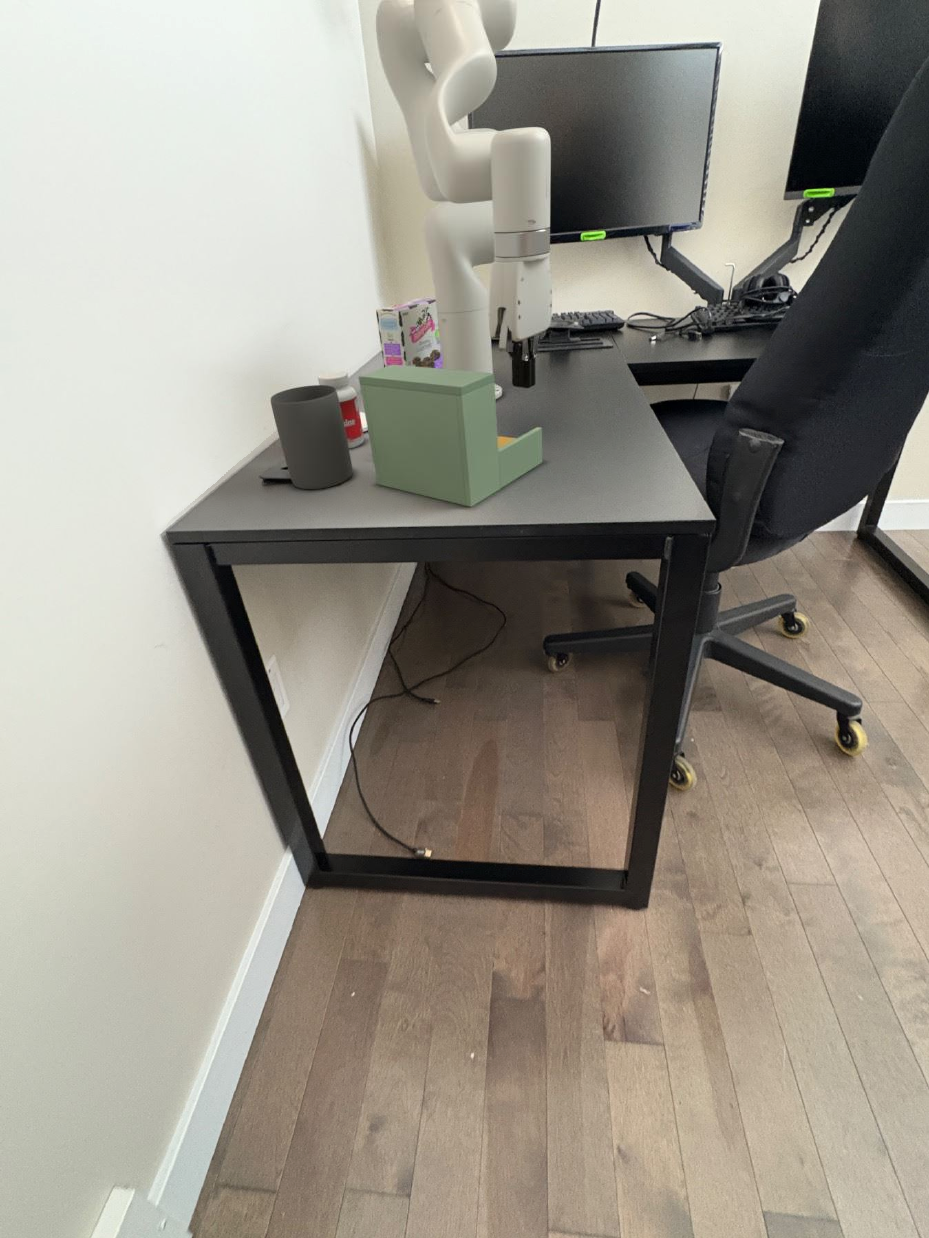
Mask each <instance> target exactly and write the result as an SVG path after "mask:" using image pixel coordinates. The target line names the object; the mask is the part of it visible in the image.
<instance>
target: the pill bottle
mask: <svg viewBox="0 0 929 1238" xmlns="http://www.w3.org/2000/svg"><path fill="white" fill-rule="evenodd" d="M348 374H349V373H348V372H347V371H341V370H340V371H339V370H337V371H329V372H325V373H321V374H319V375H318V376H317V380H318V385H327V386H332V387H334V388H335V389H336V391H337V394H338V399H339V403H340V407H341V412H342V416H343V421H344V426H345V431H346V436H347V441H348V446H349V450H350V449H354V448H357V447H359V446H361V445H362V444H363V443H364V441H365V437H364V432H363V430H362V424H361V418H360V412H361V411H360V408H359V401H358V396H357V392H356V390H355V389H354V388H353V387H352V386H351V385H349V384H350V378H349V375H348Z"/></svg>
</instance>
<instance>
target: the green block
mask: <svg viewBox="0 0 929 1238" xmlns="http://www.w3.org/2000/svg"><path fill="white" fill-rule="evenodd" d="M358 381H359V387H360V393H361V398H362V405H363V410H364V413H365V416H366V422H367V427H368V430H367V432H368V438H369V442H370V449H371V454H372V459H373V460H372V461H373V467H374V472H375V477H376V483H377V485H379V486H382V487H387V488H392V489H395V490H399V491H404V492H408V493H411V494H416V495H419V496H425V497H428V498H432V499H435V500H436V499H437V500H441V501H444V502H449V503H452V504H458V505H462V506H465V507H469V508H472V507H474V506H475V505H477V504H478V503H480V502H482V501H484V500H485V499H487V498H489V497H490V496H491V495H493V494H494V493H496V492H498V491H500V490H501V489H502V488H504V487H506V486H507V485H509V484H511V483H512V482H514V481H515V480H517V479H518V478H520V477H521V476H523V475H525V474H527V473H528V472H529V471H531V470H533V469H534V468H536V467H537V466H539V465H540V464H542V463H543V427H539V426H536V427H534V428H533V429H531V430H529V431H527V432H526V433H524V434H522V435H521V436H519V437H516V438H517V439H515V440H513V441H511V442H509V443H507V444H506V445H504V446H502V447H500V448H498V436H499V435H498V419H497V403H496V400H497V399H496V400H495V384H496V383H495V373H494V372H493V373H484V372H473V371H461V370H450V369H438V368H427V367H415V366H403V365H390V366H387V367H384V366H383V367H382V368H381V367H380V368H379V369H376V370H375V369H374V370H372V371H370V372H367V373H364V374H361V375H358Z"/></svg>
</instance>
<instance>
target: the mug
mask: <svg viewBox="0 0 929 1238" xmlns="http://www.w3.org/2000/svg"><path fill="white" fill-rule="evenodd" d="M270 405H271V410H272V415H273V418H274V422H275V426H276V431H277V433H278V434H277V435H278V437H279V442H280V445H281V449H282V452H283V456H284V461H285V463H286V467H287V470H288V474H289V477H290V480H291V482H292V484H293V485H294V487H296V488H298V489H304V490H321V489H327V488H331V487H334V486H338V485H340V484H342V483H344V482H346V481H348V480H349V479H350V478H351V477H352V476H353V463H352V458H351V452H350V449H349V446H348V441H347V436H346V431H345V426H344V421H343V416H342V412H341V407H340V403H339V399H338V394H337V391H336V389H335V388H334V387H332V386H327V385H319V384H313V385H303V386H297V387H293V388H289V389H285V390H282V391H279V392H277V393H275V394H273V395H272V396H271V397H270Z"/></svg>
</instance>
